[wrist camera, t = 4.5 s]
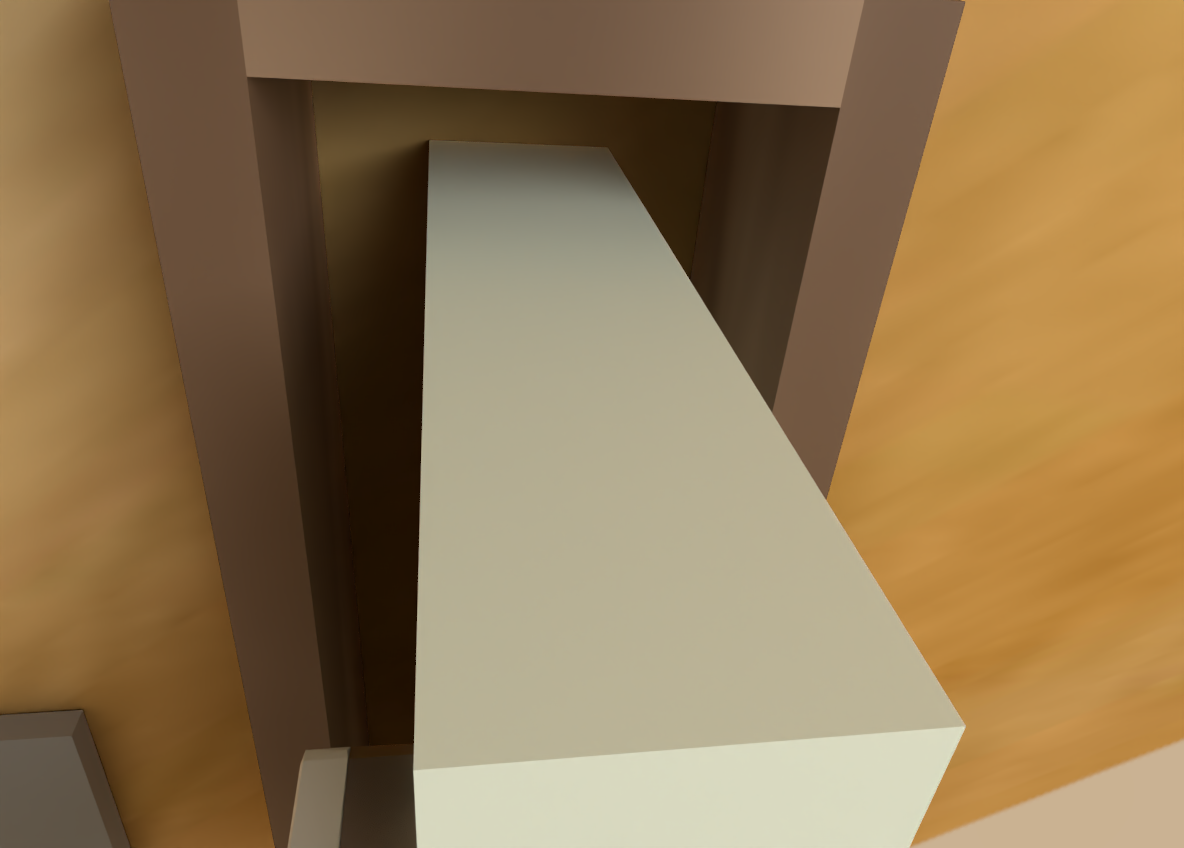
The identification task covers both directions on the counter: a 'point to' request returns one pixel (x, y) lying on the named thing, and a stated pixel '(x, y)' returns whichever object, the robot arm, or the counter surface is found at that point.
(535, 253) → the cream rectangular block
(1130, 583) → the counter surface
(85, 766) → the rubber mat
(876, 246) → the walnut box
